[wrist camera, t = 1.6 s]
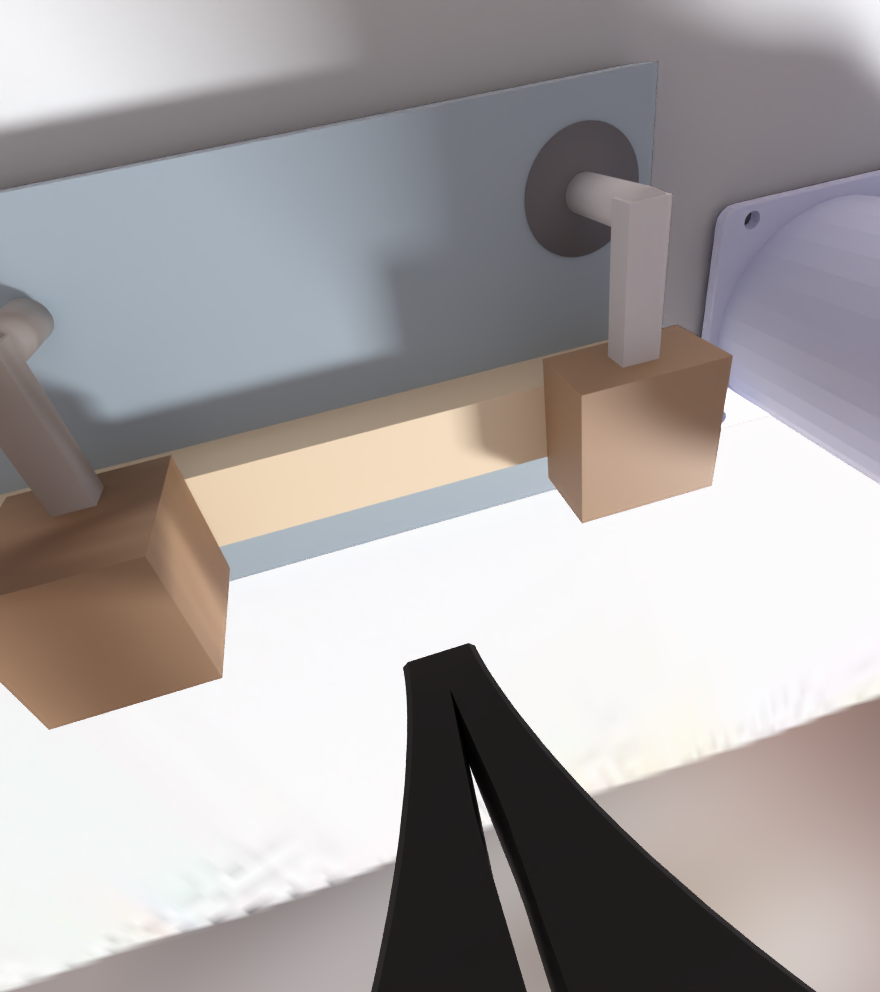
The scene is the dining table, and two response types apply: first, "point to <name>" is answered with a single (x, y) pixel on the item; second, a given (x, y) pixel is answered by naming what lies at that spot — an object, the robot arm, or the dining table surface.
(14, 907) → the dining table surface
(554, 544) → the dining table surface
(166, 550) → the slider
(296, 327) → the gauge board
